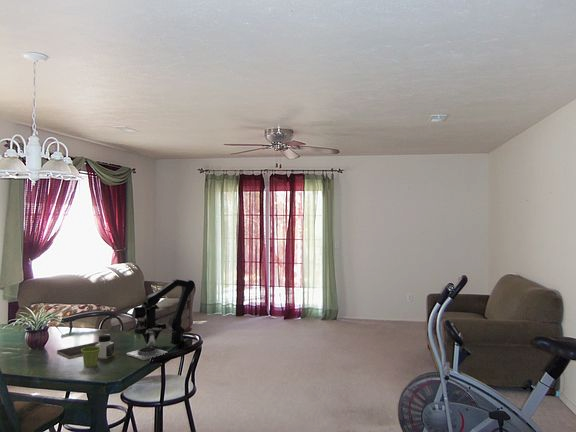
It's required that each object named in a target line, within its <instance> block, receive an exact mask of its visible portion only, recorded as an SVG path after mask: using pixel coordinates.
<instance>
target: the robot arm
mask: <svg viewBox="0 0 576 432" xmlns="http://www.w3.org/2000/svg"><path fill="white" fill-rule="evenodd" d="M195 286H196V284H195V281H193V279H192V280H191V279H184V280H182V279H178V278H174V279H172V280H171V281H170V282H168V283H167V284H166V285H164V286H163V287H161V288H160V289H158V290H157V291H156V292H153V293H150V294H149V295H146V297H145V298H144V301H143V303H142V305H140V306H134V307H133V310H132V318H133V319H134V320H135V319H143V318H144V320H138V321H137V327H136V328H135V329H134V334H137V335H142V336H143V339H144V342H145V343H146V344H148V340H149V333H148V332H150V331H152V332H155V342H157V339H158V337H159V335H160V333H161V332H162V331H163V330H165V329H167V327H168V328H169V329H170V331H171V338H170V339H171V340H170V341H169V343H173V344H182V343H185V340H184V333H185V328H184V327H182V317H183V313H184V310H185V307H186V304H187V302H188V299H189V296H190V295H191V293H192V292H193V291H194V288H195ZM177 287H181V293H180V297H179V300H178V303H177V306H176V309H175V311H174V314H173V316H169V319H168V322H167V324H166V323H164V322H159V323H157V321H158V318H157V310H159V309H160V307H159V305H158V304H159V302H160V301H161V299H162V298H163V297H164V296H166V295H167V294H168V293H170V292H171V291H172V290H174V289H175V288H177ZM182 340H184V341H183V342H182Z"/></svg>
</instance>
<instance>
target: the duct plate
mask: <svg viewBox="0 0 576 432" xmlns="http://www.w3.org/2000/svg"><path fill="white" fill-rule="evenodd" d="M168 352H169V351H167V350H163V349H159V348H156V347H142V348H141V347H140V348H138V349H137V350H133V351H129V352H126V356H127V357H131V358H135V359H137V360H141V361H146V360H149V359H152V357H153V358H157V357H159V356H160V355H161V356H163V354H164V355H166V354H165V353H168ZM168 354H169V353H168ZM156 356H157V357H156Z"/></svg>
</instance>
